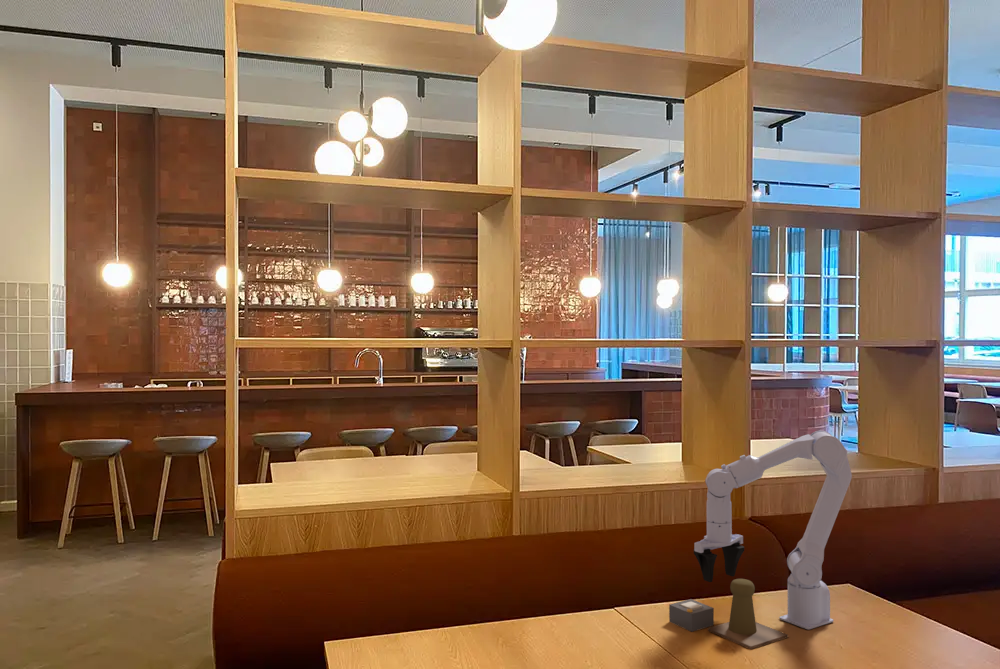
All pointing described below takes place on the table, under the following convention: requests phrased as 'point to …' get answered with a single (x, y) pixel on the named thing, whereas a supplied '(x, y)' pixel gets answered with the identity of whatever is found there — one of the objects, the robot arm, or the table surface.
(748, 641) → the coaster
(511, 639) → the table surface
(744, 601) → the olive green pawn
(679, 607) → the switch box
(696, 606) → the button
